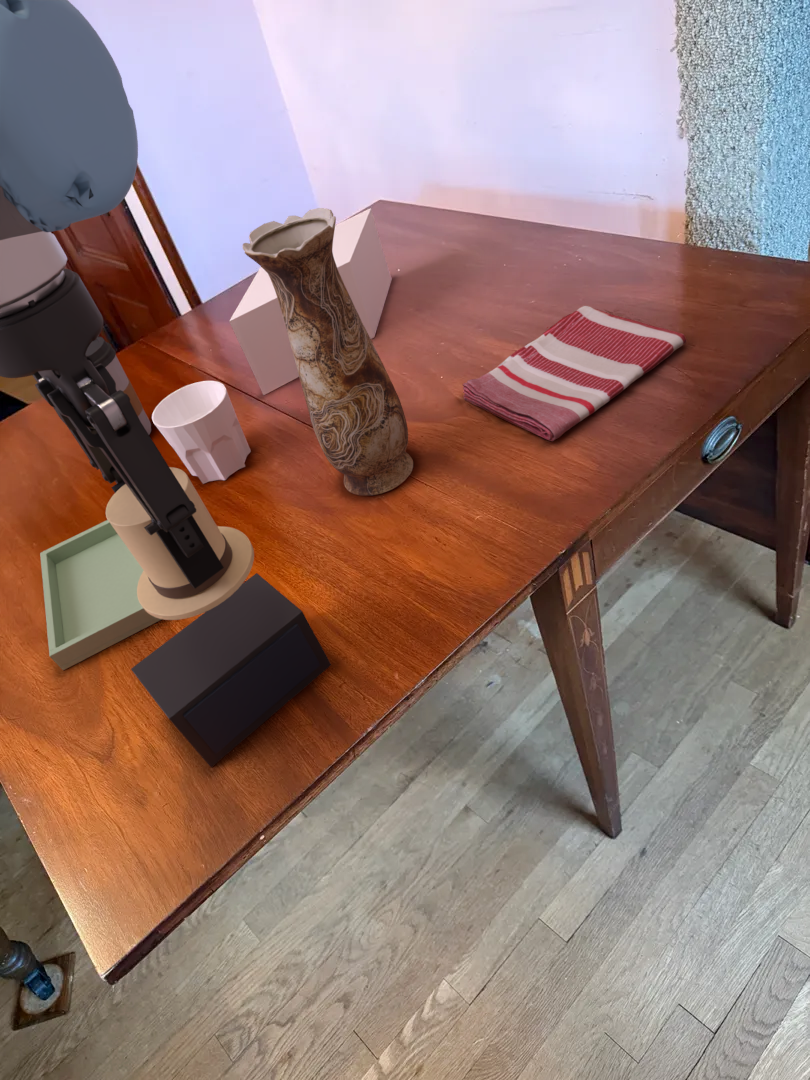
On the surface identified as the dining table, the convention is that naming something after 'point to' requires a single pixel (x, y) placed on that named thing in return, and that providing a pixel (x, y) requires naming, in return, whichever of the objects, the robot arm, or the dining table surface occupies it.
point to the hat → (161, 577)
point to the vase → (334, 354)
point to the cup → (203, 430)
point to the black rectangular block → (233, 668)
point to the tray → (90, 594)
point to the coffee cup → (117, 375)
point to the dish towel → (571, 370)
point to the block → (263, 317)
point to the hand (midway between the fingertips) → (186, 556)
